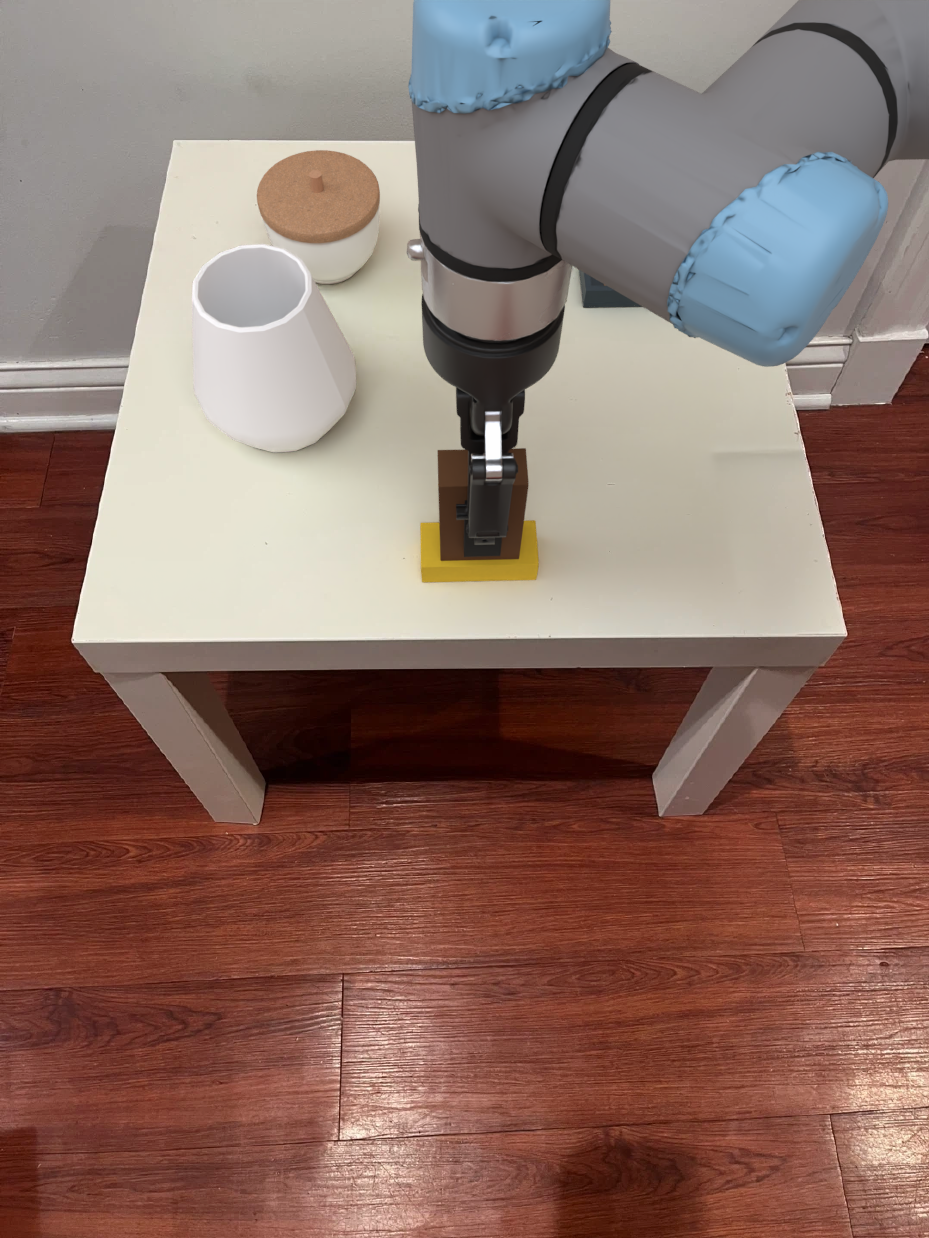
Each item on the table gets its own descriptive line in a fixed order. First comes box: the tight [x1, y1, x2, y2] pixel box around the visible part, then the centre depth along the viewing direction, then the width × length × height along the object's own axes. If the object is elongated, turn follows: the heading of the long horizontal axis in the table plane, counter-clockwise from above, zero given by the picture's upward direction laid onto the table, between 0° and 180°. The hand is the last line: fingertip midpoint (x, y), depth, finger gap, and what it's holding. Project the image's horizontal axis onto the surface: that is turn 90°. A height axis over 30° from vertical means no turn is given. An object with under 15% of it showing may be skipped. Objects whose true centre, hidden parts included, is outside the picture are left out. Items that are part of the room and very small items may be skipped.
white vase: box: [191, 243, 357, 454], centre depth 71 cm, size 13×13×14 cm
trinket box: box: [256, 149, 381, 285], centre depth 81 cm, size 11×11×9 cm
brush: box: [419, 447, 540, 583], centre depth 66 cm, size 9×4×12 cm, turn 92°
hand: (480, 530), depth 67 cm, fingers closed on brush, 3 cm apart
